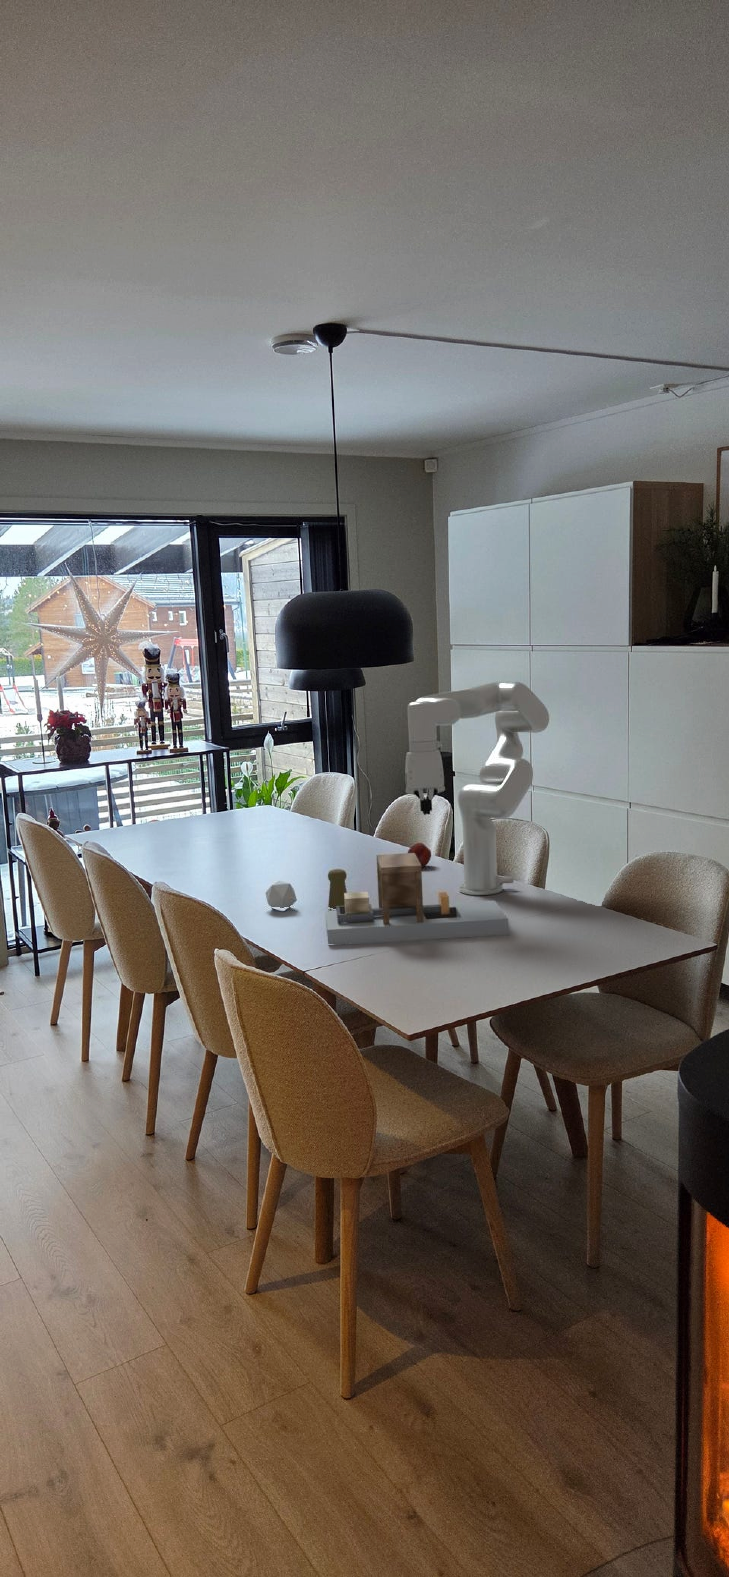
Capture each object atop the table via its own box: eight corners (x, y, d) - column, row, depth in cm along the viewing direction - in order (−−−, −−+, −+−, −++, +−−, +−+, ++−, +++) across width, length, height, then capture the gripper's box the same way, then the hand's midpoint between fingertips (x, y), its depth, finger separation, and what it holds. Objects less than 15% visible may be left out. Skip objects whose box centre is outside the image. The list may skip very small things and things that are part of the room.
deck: (494, 915, 277) (494, 900, 276) (508, 934, 259) (508, 918, 259) (326, 925, 274) (325, 910, 274) (328, 945, 257) (327, 929, 256)
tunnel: (416, 906, 274) (414, 852, 271) (423, 922, 259) (421, 865, 257) (378, 909, 273) (376, 855, 271) (383, 924, 258) (381, 867, 256)
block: (368, 914, 268) (367, 891, 268) (370, 920, 263) (368, 897, 262) (345, 915, 268) (344, 893, 267) (346, 921, 262) (345, 898, 261)
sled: (445, 906, 271) (444, 890, 270) (450, 916, 262) (449, 898, 261) (336, 913, 269) (335, 896, 269) (337, 922, 261) (336, 905, 260)
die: (303, 911, 292) (299, 880, 296) (287, 903, 285) (283, 871, 289) (278, 920, 295) (274, 889, 299) (262, 912, 288) (258, 881, 292)
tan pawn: (325, 907, 293) (323, 868, 292) (345, 904, 295) (343, 866, 294) (332, 911, 288) (330, 873, 286) (352, 909, 290) (350, 870, 288)
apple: (430, 869, 333) (429, 845, 332) (406, 869, 334) (405, 845, 333) (432, 864, 340) (431, 840, 339) (408, 864, 342) (407, 840, 340)
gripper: (448, 743, 285) (450, 809, 288) (394, 747, 283) (397, 813, 286) (453, 746, 277) (456, 814, 280) (397, 750, 276) (401, 818, 279)
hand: (426, 813), depth 283 cm, fingers closed
